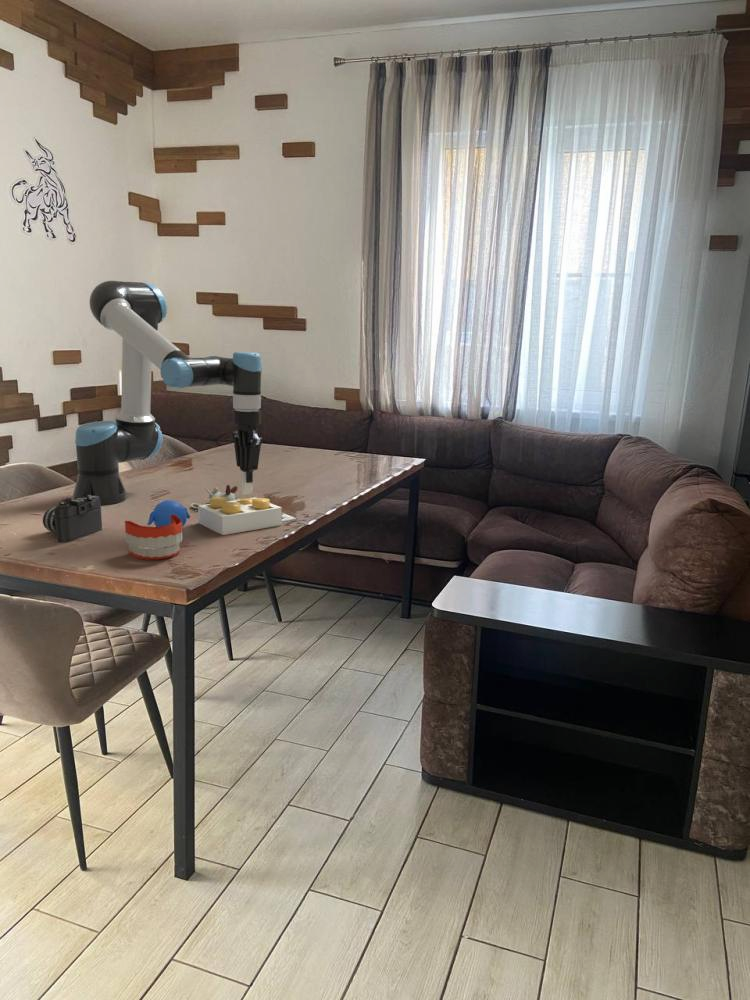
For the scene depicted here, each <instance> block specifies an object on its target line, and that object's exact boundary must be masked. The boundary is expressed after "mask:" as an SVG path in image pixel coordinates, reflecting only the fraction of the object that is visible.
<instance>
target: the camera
mask: <svg viewBox="0 0 750 1000" xmlns="http://www.w3.org/2000/svg"><path fill="white" fill-rule="evenodd" d="M58 503H59V504H56V506H54V507H51V508H49V509H47V510H46V511H45V512H44V514H43V516H42V525H43V527H44V528H45V529H46V530H47V531H49V532H50V533H53V534H55V537H56V542H58V543H59V542H60V543H67V542H72V541H75V540H78V539H81V538H83V537H87V536H89V535H92V534H95V533H97V532H100V531H102V530H103V529H102V528H103V521H102V517H103V516H102V507H101V506H102V505H101V503H100V498H99V496H91V495H88V498H76V499H75V498H73V497H71V496H70V497H66V498H65V499H63V500H62V501H60V502H58Z"/></svg>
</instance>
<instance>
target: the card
mask: <svg viewBox="0 0 750 1000" xmlns="http://www.w3.org/2000/svg"><path fill="white" fill-rule="evenodd" d="M296 520H297V517H294V516H292V515H289V514H287V513H284V512H282V523H285V522H293V521H296Z"/></svg>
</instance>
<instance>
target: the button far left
mask: <svg viewBox="0 0 750 1000" xmlns="http://www.w3.org/2000/svg"><path fill="white" fill-rule="evenodd" d="M226 502H228V498H226V497H213V498H210V499H209V503H210V508H213V509H221V508H222V504H223V503H226Z"/></svg>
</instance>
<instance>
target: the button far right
mask: <svg viewBox="0 0 750 1000" xmlns="http://www.w3.org/2000/svg"><path fill="white" fill-rule="evenodd" d="M251 498H252V497H250V498H240V499H241V500H239V503H240V504H243V505H249V504H252V499H251Z"/></svg>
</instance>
